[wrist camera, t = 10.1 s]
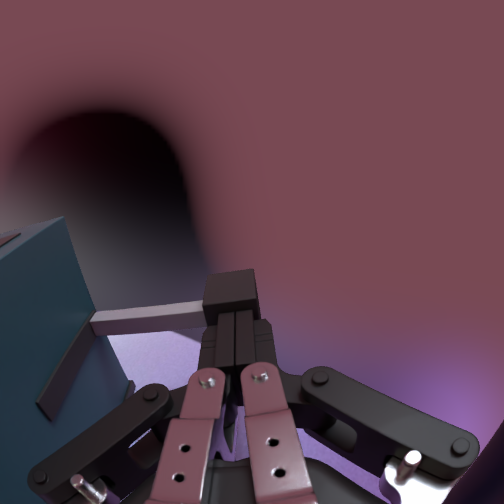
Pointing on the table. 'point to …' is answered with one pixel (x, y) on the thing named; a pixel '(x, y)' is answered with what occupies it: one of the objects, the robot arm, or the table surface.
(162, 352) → the table surface
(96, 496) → the robot arm
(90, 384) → the toaster
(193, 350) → the table surface
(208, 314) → the slider
